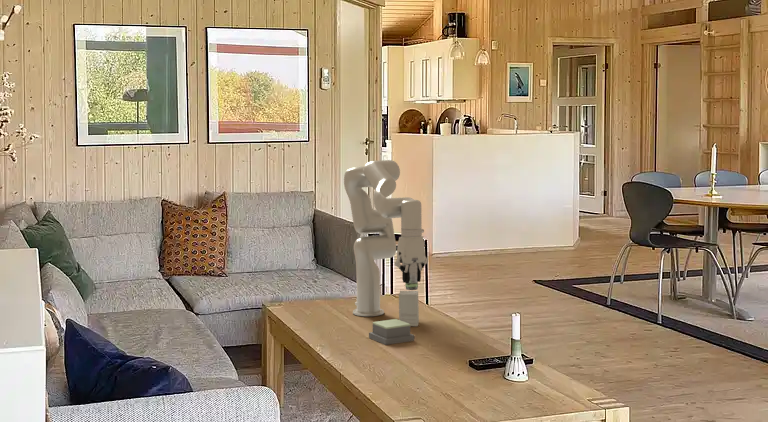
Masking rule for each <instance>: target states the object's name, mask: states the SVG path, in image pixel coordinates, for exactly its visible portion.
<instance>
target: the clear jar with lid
mask: <svg viewBox="0 0 768 422" xmlns="http://www.w3.org/2000/svg"><path fill="white" fill-rule="evenodd" d="M417 260H418V258H412V261H413V263H412V264H409V266H408V271H407V272H408V273H409V283H405V285H404V286H405V291H418V288H419V282H418V263H417V262H416V261H417Z"/></svg>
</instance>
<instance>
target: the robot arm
mask: <svg viewBox="0 0 768 422" xmlns="http://www.w3.org/2000/svg"><path fill="white" fill-rule="evenodd" d="M400 175H401V170H400V166H399V165H398V163H397V162H396V161H395V160H392V159H391V160H390V159H387V160H385V159H384V160H383V159H382V160H381V159H380V160H371V161H368V162H367V163H365V165H364V166H354V167H351V168H348V169H347V170H345V173H344V174H343V185H344V189H345V193H346V194H347V198H348V200H349V203H350V210H351V216H352V222H353V227H354V230H355V232H356V233H358V234H360V235H361V234H363V235H364V234H379V235H368V236H362V237H358V238H356V240H355V241H354V243H353V253H354V258H355V259H354V260H355V270H356V271H355V272H356V273H355V274H356V275H355V276H356V301H355V302H354V304H355V306H356V308H355V309H353V310H352V314H353V315H354V316H358V317H378V316H382V315H384V313H385V311H384V310H385V309H382V308H381V271H380V268H379V266H378V264H377V263H376V262H375V260H382V259H383V260H385V259H390V258H394V256H395V255H396V260H395V262H394V266H396V267H397V268H398V269H399V271H400V272H401V273H402V276H401V278H402V282H403V283H409V273H408V272H407V271H408V266H409V264H412V263H413V261H412V258H418V260H417V261H416V262H417V263H418V283H420V282H421V279H422V278H421V277H422V275H421V274H422V271H423V268H424V267H425V265H427V263H428V262H429V259H428V258H427V256H426V249H425V248H426V247H425V241H424V236H422V235H423V233H424V232H425V230H424V229H423V228H422V227H423V225H422V202H421V200H418V199H414V198H412V197H406V196H405V197H391V198H389V197H390V196H391V195H392V194H393V193H394V192H395V191H396V188H397V182H396V181H397V180H398V179H399V178H400ZM363 188H372V189H373V190H374V192H373V197H372V198H371V197H370V196H369V194H368V193H367V192H366V191H365V190H364V189H363ZM371 199H372V200H371ZM372 201H373V205H374V208H375V209H374V208H373V205H372ZM398 218H400V219H401V220H400V221H401V222H400V226H401V227H400V228H401V229H400V233H401V234H400V236H399V237H398V242H397V243H396V237H395V236H396V235H395V231H394V224H393V219H398ZM396 252H397V253H396Z"/></svg>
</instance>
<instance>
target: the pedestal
mask: <svg viewBox="0 0 768 422" xmlns="http://www.w3.org/2000/svg"><path fill="white" fill-rule="evenodd" d="M368 339H370V340H373V341H375V342H378V343H380V344H382V345H383V346H384V345H385V346H387V345H394V344H400V343H406V342H414V341H415V334H412V333H411V326H410V324H409V323H406V322H403V321H400V320H399V318H398V319H397V318H392V319H386V320H380V321H379V320H377V321H372V331H370V332H368Z"/></svg>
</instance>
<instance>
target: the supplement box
mask: <svg viewBox="0 0 768 422" xmlns="http://www.w3.org/2000/svg"><path fill="white" fill-rule="evenodd" d="M419 307H420V306H419V290H399V293H398V320H400V321H403V322H406V323H409V324H410V327H418V326H419V323H420V321H419V319H420V318H419V316H420V315H419V313H420V311H419Z"/></svg>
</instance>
